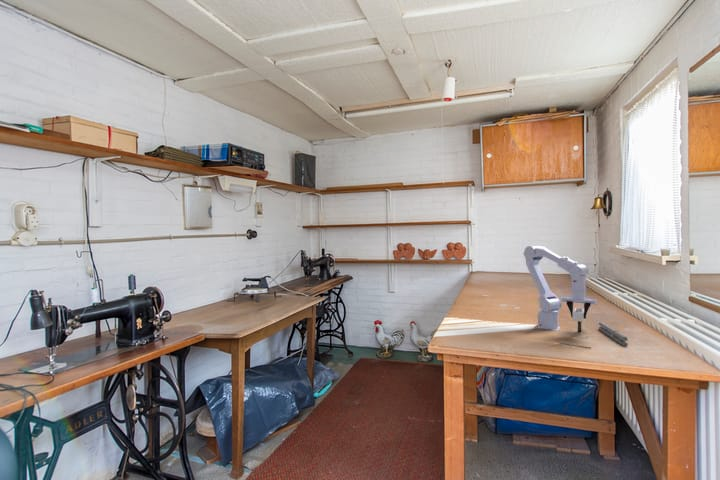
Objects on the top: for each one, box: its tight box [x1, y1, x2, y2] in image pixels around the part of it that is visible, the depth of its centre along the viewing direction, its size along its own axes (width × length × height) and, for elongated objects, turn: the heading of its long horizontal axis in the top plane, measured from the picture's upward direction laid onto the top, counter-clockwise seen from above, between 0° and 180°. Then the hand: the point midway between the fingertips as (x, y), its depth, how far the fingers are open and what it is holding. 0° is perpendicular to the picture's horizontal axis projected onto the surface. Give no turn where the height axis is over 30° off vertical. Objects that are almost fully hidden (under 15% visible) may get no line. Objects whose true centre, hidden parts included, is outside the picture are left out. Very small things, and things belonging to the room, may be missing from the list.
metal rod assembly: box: [598, 321, 629, 347], centre depth 170 cm, size 26×3×5 cm, turn 167°
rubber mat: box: [558, 342, 592, 350], centre depth 164 cm, size 12×12×1 cm
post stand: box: [567, 321, 591, 340], centre depth 176 cm, size 8×16×6 cm, turn 144°
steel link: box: [572, 307, 585, 323], centre depth 176 cm, size 4×12×4 cm, turn 145°
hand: (578, 317), depth 174 cm, fingers closed on steel link, 4 cm apart
